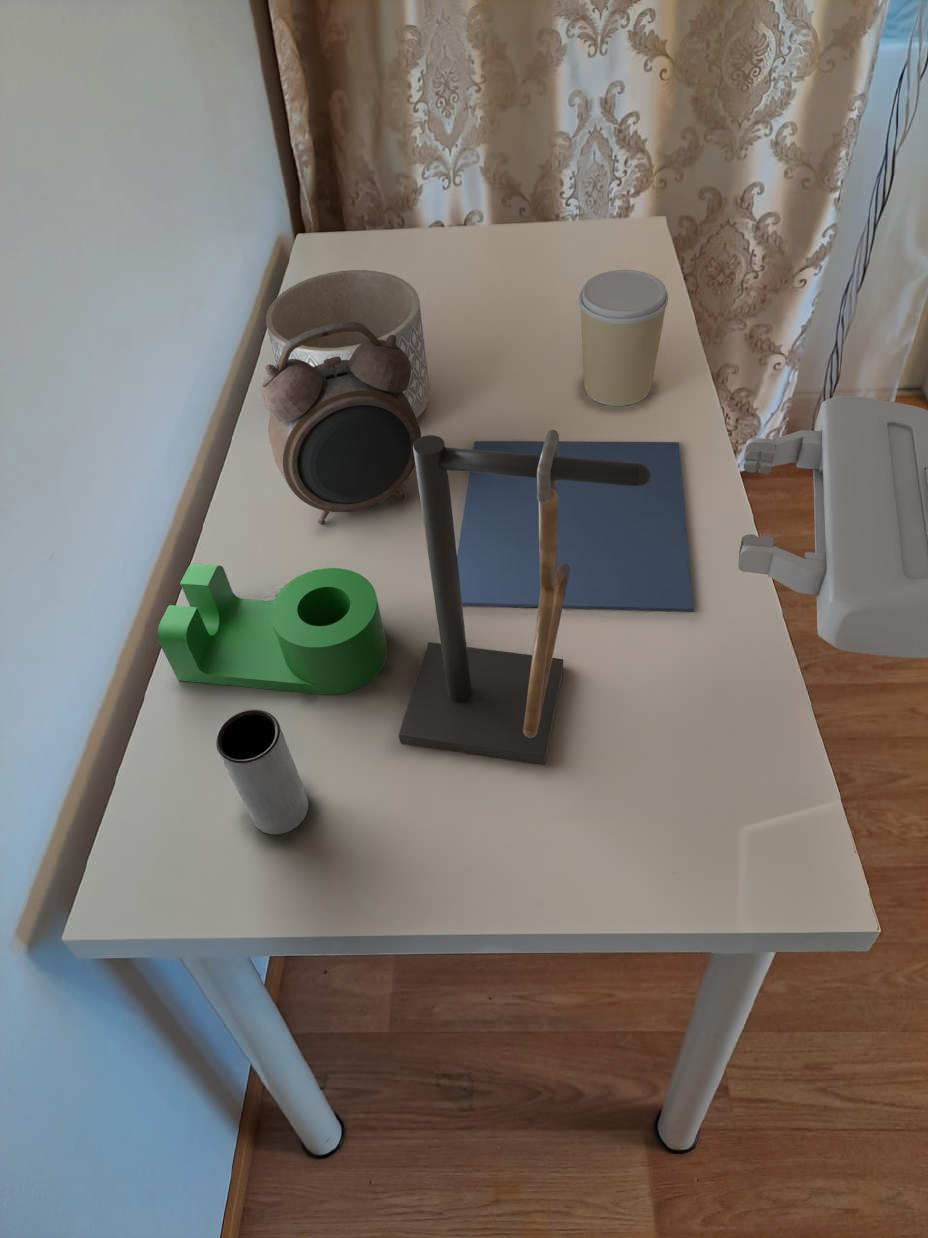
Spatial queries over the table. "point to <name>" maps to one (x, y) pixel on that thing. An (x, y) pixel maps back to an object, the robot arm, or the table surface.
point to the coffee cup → (621, 334)
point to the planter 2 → (353, 299)
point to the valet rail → (452, 672)
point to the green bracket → (277, 633)
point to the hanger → (546, 586)
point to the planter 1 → (263, 770)
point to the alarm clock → (342, 422)
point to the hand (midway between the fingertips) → (742, 500)
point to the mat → (580, 533)
